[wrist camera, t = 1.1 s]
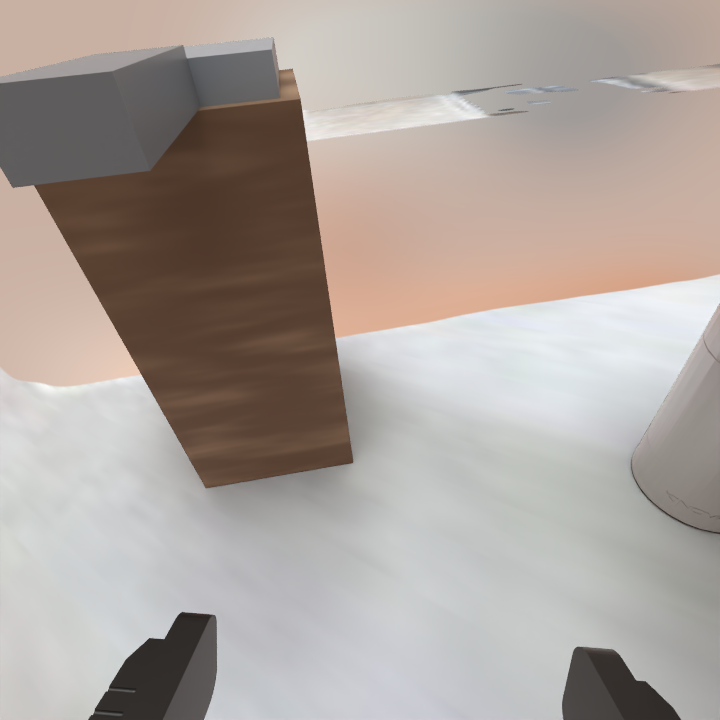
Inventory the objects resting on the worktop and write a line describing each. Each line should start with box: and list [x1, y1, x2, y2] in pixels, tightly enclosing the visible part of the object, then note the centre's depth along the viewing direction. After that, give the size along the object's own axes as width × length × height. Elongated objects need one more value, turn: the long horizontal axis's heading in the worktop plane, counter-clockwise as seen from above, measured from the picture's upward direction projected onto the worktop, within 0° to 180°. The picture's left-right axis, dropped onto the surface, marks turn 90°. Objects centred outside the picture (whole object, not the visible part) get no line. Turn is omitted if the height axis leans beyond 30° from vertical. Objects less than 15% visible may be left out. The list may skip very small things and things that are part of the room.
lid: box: [0, 37, 280, 188], centre depth 20 cm, size 23×12×2 cm, turn 9°
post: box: [34, 69, 353, 488], centre depth 35 cm, size 14×14×30 cm
